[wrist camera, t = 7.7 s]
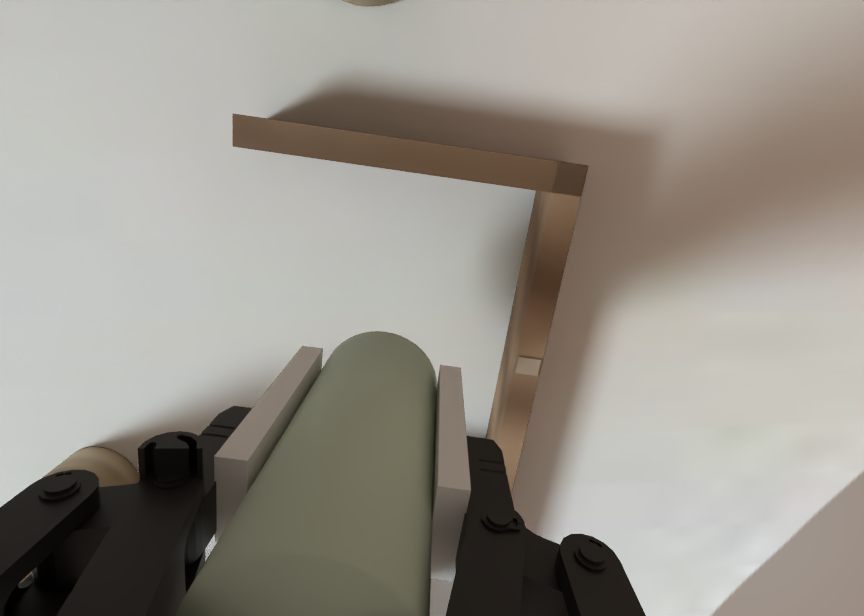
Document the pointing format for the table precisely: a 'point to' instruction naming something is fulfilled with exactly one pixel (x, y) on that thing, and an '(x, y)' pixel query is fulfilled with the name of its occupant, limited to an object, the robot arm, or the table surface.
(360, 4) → the flower pot
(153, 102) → the table surface
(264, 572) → the sage post
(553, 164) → the rack
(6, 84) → the table surface
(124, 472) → the beech post
